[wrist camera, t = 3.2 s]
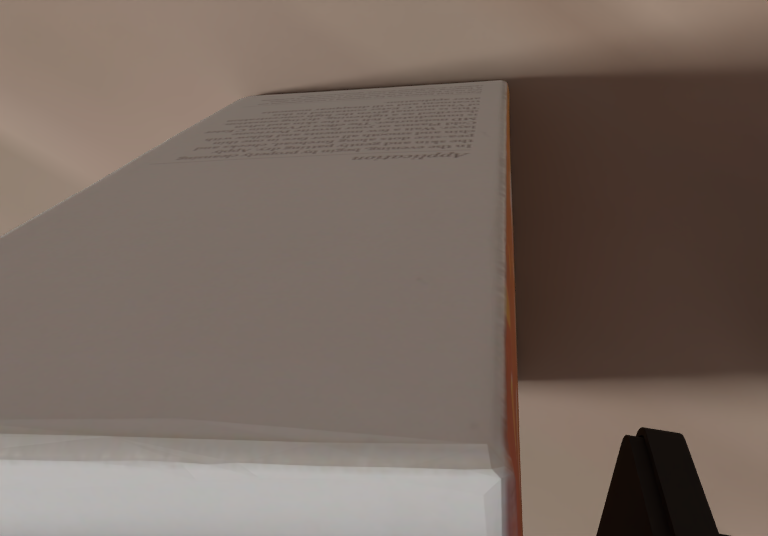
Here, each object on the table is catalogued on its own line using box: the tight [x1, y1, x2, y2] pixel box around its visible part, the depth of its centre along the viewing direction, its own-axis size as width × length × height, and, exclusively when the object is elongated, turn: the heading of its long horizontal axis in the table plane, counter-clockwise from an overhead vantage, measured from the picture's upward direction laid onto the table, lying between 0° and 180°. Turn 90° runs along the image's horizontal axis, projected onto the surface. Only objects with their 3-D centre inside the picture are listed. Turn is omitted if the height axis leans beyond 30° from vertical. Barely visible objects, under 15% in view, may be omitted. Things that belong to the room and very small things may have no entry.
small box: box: [0, 80, 523, 536], centre depth 12 cm, size 8×6×13 cm
